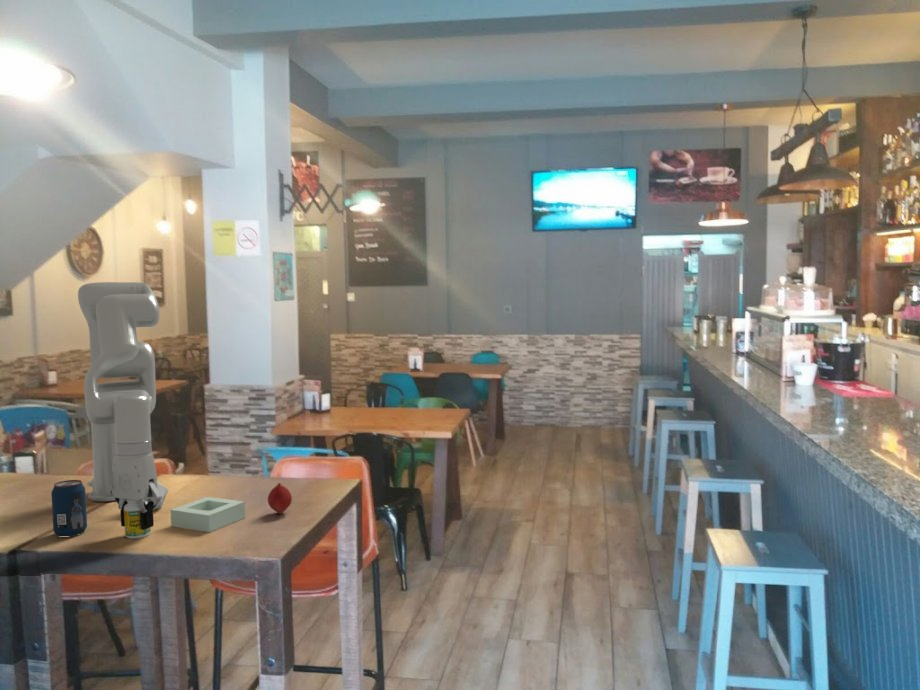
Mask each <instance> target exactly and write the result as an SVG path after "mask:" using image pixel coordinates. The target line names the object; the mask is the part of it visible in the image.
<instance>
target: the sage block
mask: <svg viewBox="0 0 920 690" xmlns="http://www.w3.org/2000/svg"><path fill="white" fill-rule="evenodd" d="M245 506H246V505H245V501H242V500H235V499H227V498H218V497H211V496H206V497H203V498H200V499H197V500H195V501H194V500H193V501H191V502H188V503H185V504H182V505H180V506H177V507H174V508H171V509H170V522H171V523H170V524H171V527H174V528H179V529H185V530H186V529H187V530H193V531H200V532H205V533H211V532H215V531H216V530H219V529H221V528H223V527H226V526H229V525H231V524H233V523H235V522H238V521H240V520H241V521H242V520H243V519H245V518H246V508H245Z"/></svg>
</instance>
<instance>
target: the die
mask: <svg viewBox="0 0 920 690" xmlns="http://www.w3.org/2000/svg"><path fill="white" fill-rule="evenodd" d="M157 489H158V491H159V492H160V494H161V496H162V499H161V500H160V501H159V502H158V504H157V505H156V506H155V509H154V510H153V511H156V509H157V510H159V508H160V509H162V507H163V506H164V501H165V500H166V497H167V493H168V490H169V489H168V487H166V486H165V485H164V484H162V483H160V482H159V481H158V480H157ZM145 501H146V502H147V503H148V500H145Z"/></svg>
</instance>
